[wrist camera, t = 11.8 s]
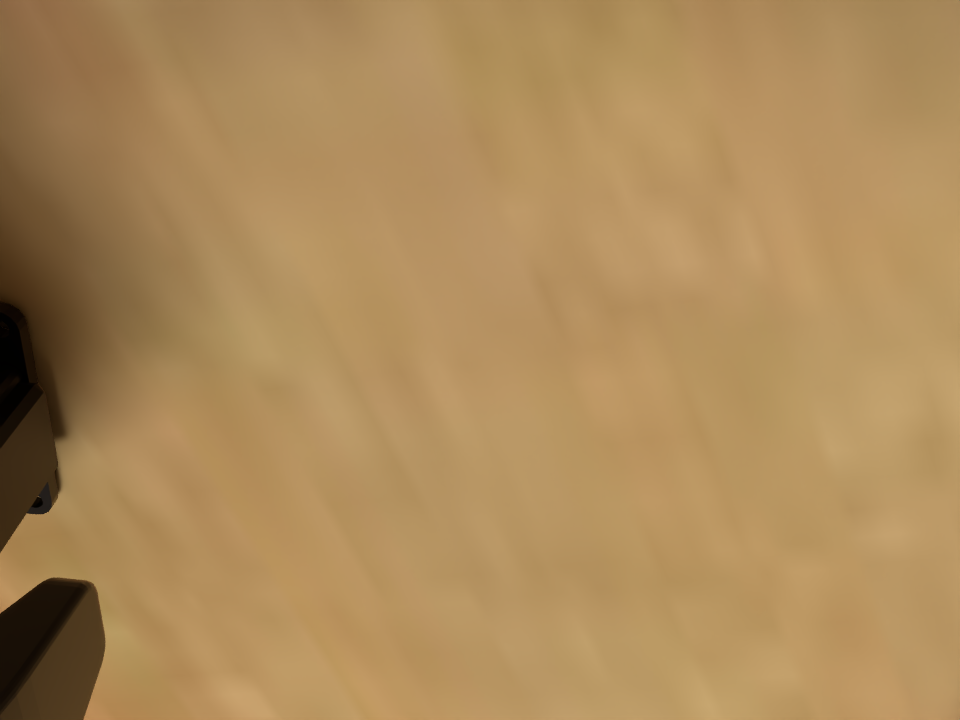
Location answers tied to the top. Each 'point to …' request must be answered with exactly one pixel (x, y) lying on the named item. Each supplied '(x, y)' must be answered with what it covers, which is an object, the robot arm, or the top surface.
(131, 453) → the top surface
